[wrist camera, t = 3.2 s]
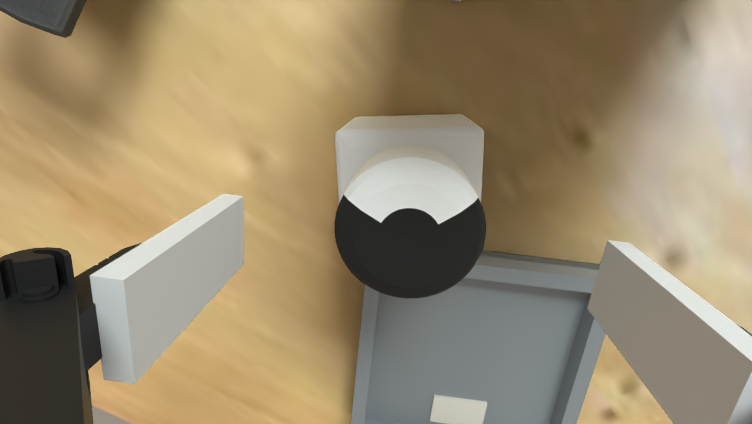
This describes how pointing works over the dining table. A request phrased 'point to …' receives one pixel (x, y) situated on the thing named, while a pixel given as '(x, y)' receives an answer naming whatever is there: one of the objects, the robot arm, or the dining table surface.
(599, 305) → the robot arm
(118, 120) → the dining table surface
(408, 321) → the tray
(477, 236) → the medicine bottle
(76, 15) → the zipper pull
